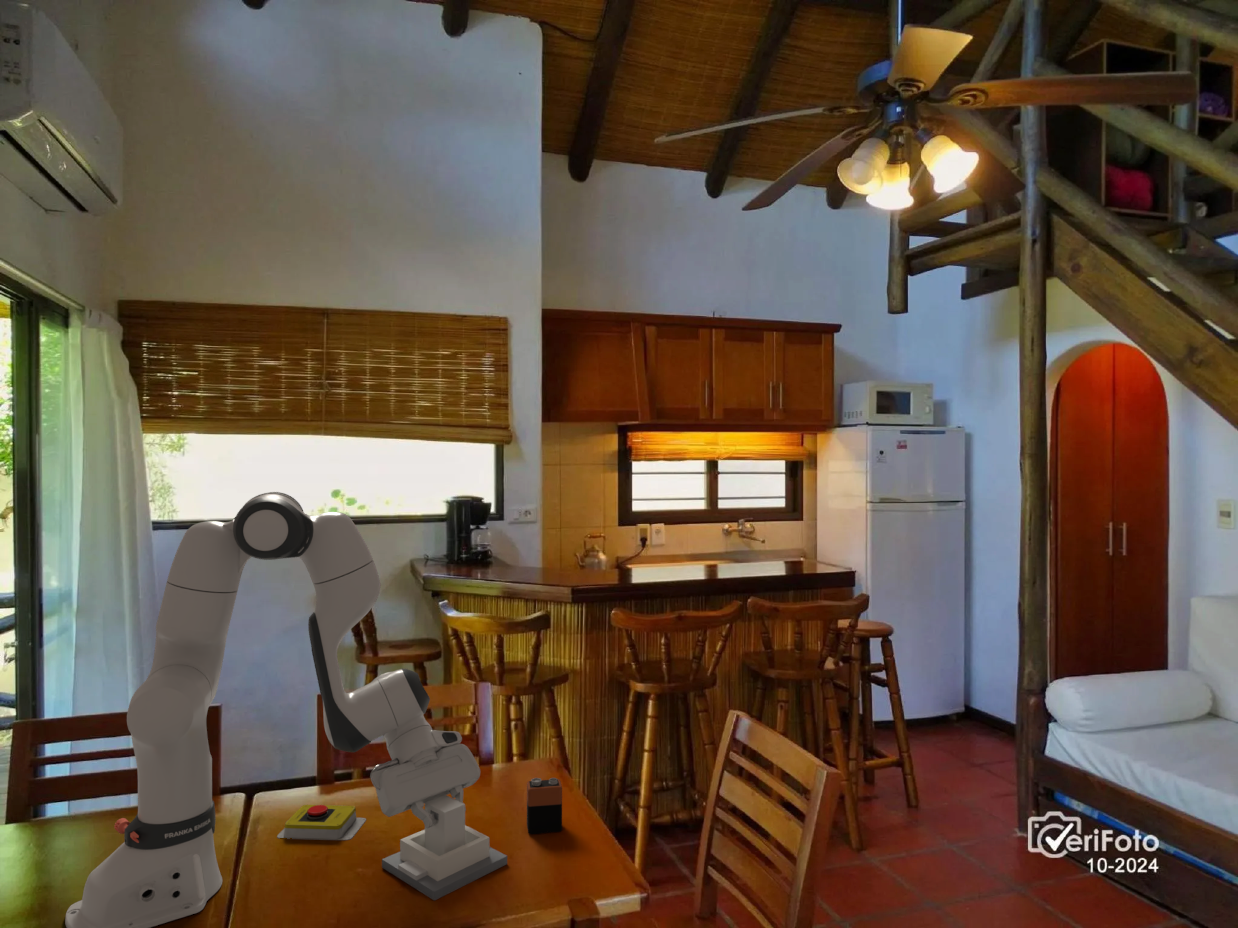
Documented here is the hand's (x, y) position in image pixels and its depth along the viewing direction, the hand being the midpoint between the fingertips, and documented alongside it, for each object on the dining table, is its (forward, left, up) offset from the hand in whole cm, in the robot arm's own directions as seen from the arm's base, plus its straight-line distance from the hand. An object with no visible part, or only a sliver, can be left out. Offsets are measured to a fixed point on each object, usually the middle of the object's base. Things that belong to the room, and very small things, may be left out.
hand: (447, 819), depth 143 cm
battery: (+22, -2, -9) cm, 24 cm away
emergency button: (-8, +31, -9) cm, 33 cm away
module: (0, +1, -6) cm, 6 cm away
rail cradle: (0, +1, -9) cm, 9 cm away
